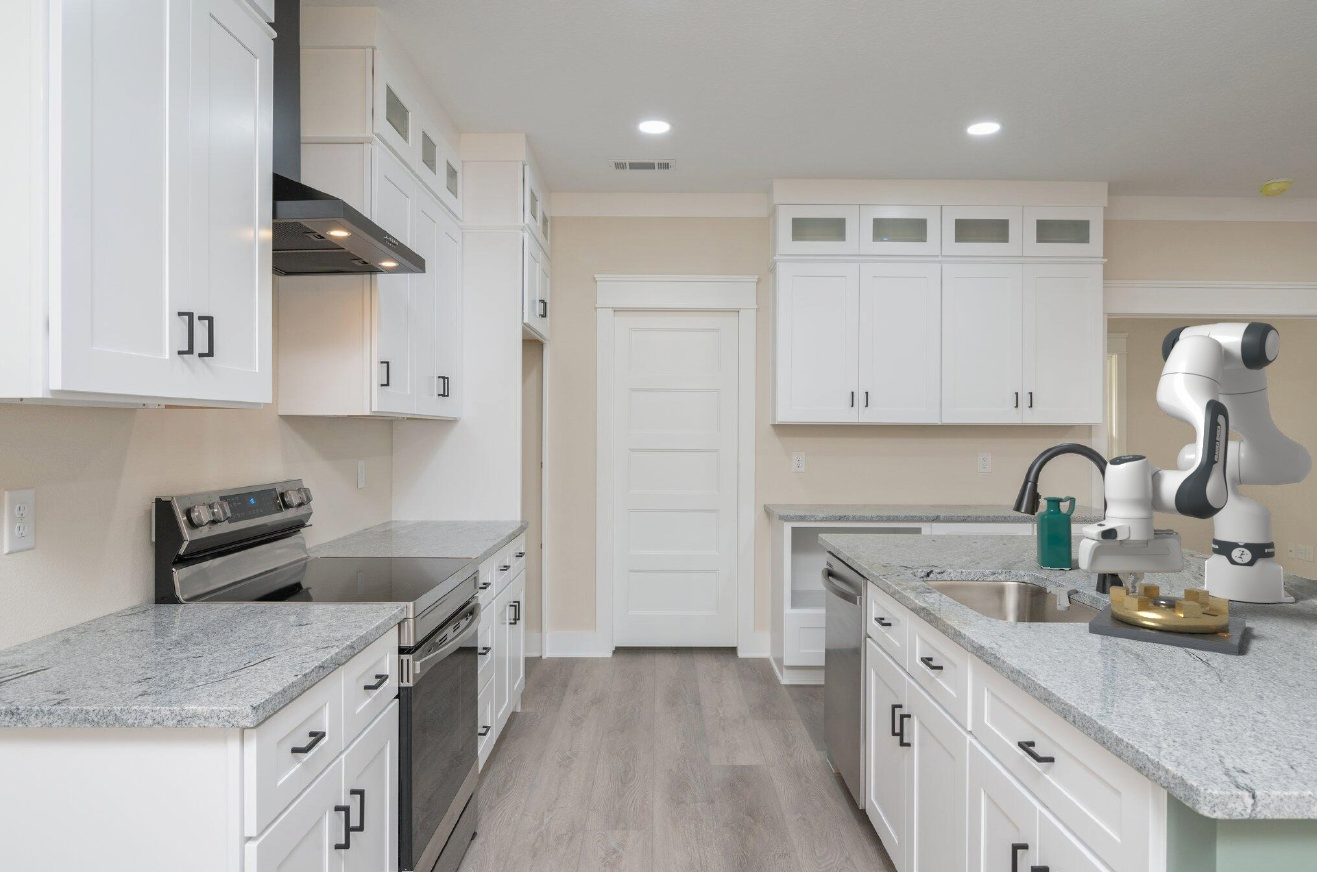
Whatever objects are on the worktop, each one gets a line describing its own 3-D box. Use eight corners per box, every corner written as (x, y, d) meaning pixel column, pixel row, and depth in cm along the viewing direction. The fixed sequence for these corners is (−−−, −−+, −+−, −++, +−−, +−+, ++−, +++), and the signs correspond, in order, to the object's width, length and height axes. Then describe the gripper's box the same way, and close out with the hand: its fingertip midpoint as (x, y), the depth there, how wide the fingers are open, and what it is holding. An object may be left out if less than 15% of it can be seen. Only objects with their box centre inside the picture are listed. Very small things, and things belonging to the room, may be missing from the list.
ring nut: (1088, 612, 154) (1088, 587, 154) (1156, 604, 159) (1156, 580, 159) (1180, 636, 134) (1179, 608, 134) (1253, 627, 140) (1253, 599, 140)
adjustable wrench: (1070, 613, 164) (1070, 606, 164) (1039, 610, 168) (1038, 602, 168) (1076, 592, 185) (1076, 585, 185) (1048, 589, 188) (1048, 583, 188)
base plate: (1111, 610, 164) (1111, 601, 164) (1245, 628, 148) (1245, 617, 148) (1088, 632, 146) (1088, 622, 146) (1238, 655, 130) (1237, 643, 130)
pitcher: (1042, 569, 214) (1041, 497, 214) (1036, 564, 222) (1034, 495, 222) (1078, 571, 211) (1077, 497, 211) (1071, 566, 219) (1069, 495, 219)
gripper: (1171, 527, 155) (1173, 589, 155) (1074, 528, 158) (1076, 590, 158) (1189, 530, 149) (1192, 595, 149) (1088, 532, 151) (1090, 596, 151)
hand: (1131, 593), depth 153 cm, fingers closed
